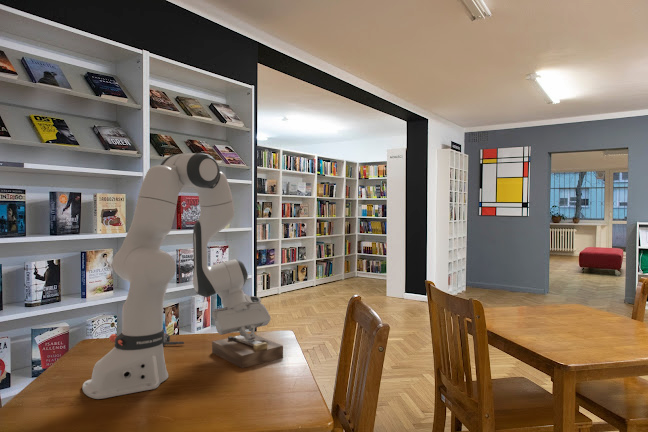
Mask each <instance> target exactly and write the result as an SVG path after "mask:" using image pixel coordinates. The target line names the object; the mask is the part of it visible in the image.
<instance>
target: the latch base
mask: <svg viewBox="0 0 648 432" xmlns="http://www.w3.org/2000/svg"><path fill="white" fill-rule="evenodd" d="M239 334H240V333H239ZM249 334H251V332H250V333H249ZM240 335H241V334H240ZM255 335H256V334H255ZM241 336H242V335H241ZM233 337H234V336H232V335H231V336H228V337H227V338H221V339H217V340H212V342H211V347H212V348H211V353H212V354H214V355H216V356H218V357H219V358H222V359H224V360H225V361H227V362H228V363H229V362H230V363H231V364H233V365H235V366H237V367H238V368H241V369H245V368H248V367H252V366H257V365H259V364H263V363H267V362H271V361H274V360H279V359H282V358H284V345H282V344H280V343H276V342H275V341H272V340H269V339H267V338H265V337H261V336H260V335H256V338H255V339H254V340H257V341H260V342H262V343H258V344H254V346H251V345H248V344H245V343H242V342H239V341H236V340H233Z"/></svg>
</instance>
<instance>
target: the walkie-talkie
mask: <svg viewBox="0 0 648 432" xmlns="http://www.w3.org/2000/svg"><path fill="white" fill-rule="evenodd" d="M164 335H165V342H164V346H168V345H173V346H174V345H184V344H185V342H184V341H171V336H170V335H169V333H166V332H164Z"/></svg>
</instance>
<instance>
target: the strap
mask: <svg viewBox="0 0 648 432" xmlns="http://www.w3.org/2000/svg"><path fill="white" fill-rule="evenodd" d="M232 337H233V340H236V341H239V342H242V343H245V344H248V345H251V346H254V344H258V343H262V342H260V341H257V340H254V339H253V340H249V341H246V339H245V337H244V336H241V335H235V336H232Z"/></svg>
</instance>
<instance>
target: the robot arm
mask: <svg viewBox="0 0 648 432" xmlns="http://www.w3.org/2000/svg"><path fill="white" fill-rule="evenodd" d="M183 188H186V189H194V190H195V191H196V193H197V195H198V202H199V208H200V213H199V217H198V220H197V221H196V222H195V223H194V225H193V231H192V232H193V233H192V234H193V237H192V242H193V243H192V245H193V256H192V257H193V275H192V286H193V289H194V291H195V293H196V294H197V295H199V296H201V297H203V298H209V297H212V296H214V295H216V294H217V296H219V297H220V299H221V301H220V302H221V305H222V307H220V308H215V309H213V311H212V312H211V316H212V319H213V320H214V325H215V329H216V332H217V333H218V334H219V335H223V336H224V335H226V334H231V333H235V332H238V333H239V334H241V335H242V336H244V337H245V339H246V341H249V340H253V339H255V338H256V333H255V331H256V328H261V327H265V326H268V325H269V324H270V321H271V319H272V318H271V315H270V313H269V311H268V309H267V307H266V306H265V305H264V303H262V298H261V297H258V296H253V295H249V294H246V293H245V292H244V290H243V287H244V286H245V284H246V282H247V280H248V278H249V276H248V271H247V269H246V267H245V264H244V263H243V262H242V261H240V260H239V259H237V258H235V259H230V260H226V261H222V262H220V263H217V264H213V265H210V266H209V265H208V244H209V241H210V240H211V239H212V238H213V237H214V236H215V235H216V234H217V233H219V232H221V231H222V230H224V229H225V228H226V227H228V225H229V224H231V222H232V220H233V219H234V217H235V205H234V199H233V195H232V191H231V187H230V185H229V181H228V179H227V176H226V174H225V173H224V172H222V171H221V168H220V166H219V164H218V161H217V160H216V159H215V157H213V155H210V154H208V153H203V152H197V153H196V152H195V153H193V152H192V153H191V152H185V153H178V154H172V155H170V156H167V157H166V158H165V159H164V160H163V161H162V162H161V163H160V164H157V165H153V166H151V167H150V168H148V170H147V172H146V173H145V175H144V179H143V180H142V183H141V186H140V190H139V193H138V196H137V200H136V205H135V210H134V213H133V217H132V221H131V224H130V226H129V229H128V231H127V234H126V236H125V238H124V239H123V242H122V245H121V246H120V248H119V249H118V251H117V252H116V253H115V254H114V256H113V258H112V265H111V266H112V269H113V271H114V272H115V274H116V275H117V276H118V277H120V279H122V280H123V281H126V282H129V288H128V293H127V297H126V300H125V302H124V303H123V304H122V310H121V311H122V312H121V332H120V333H119V334H118V335H117V334H116V333H112V334H110V336H109V340H110V341H111V342H112V343H114V347H113V348H112V349H111V350H110V351H108V352H107V353H106V354H105V355H104V356H103V357H101V359H99V360H98V361H96V363H95V364H94V366H93V369H92V372H91V373H92V374H91V379H88V380H85V381H84V382H83V384H82V392H83V393H84V394H85V395H86V397H89V398H92V399H96V400H100V399H101V400H102V399H107V398H112V397H116V396H117V397H118V396H123V395H128V394H133V393H138V392H143V391H149V390H155V389H157V388H159V386H160V385H161V383H164V381H166V380H167V379H168V378H169V372H168V371H167V366H166V361H165V354H164V353H165V352H164V348H165V345H164V342H165V335H164V333H165V329H164V326H163V325H164V302H165V298H166V294H167V289H168V286H169V283H170V282H171V281H172V280H173V279H174V276H175V275H176V273H177V272H176V271H177V265H176V261H175V259H174V258H173V256H171V254H169V253H167V252H166V251H164V250H163V249H160V248H161V246H162V244H163V242H164V240H165V238H166V237H167V235H169V233H170V232H171V231H172V227H173V224H174V218H175V214H176V208H177V204H178V199H179V194H180V193H181V190H182V189H183ZM247 331H249V332H250V333H251V334H250V333H248V332H247Z"/></svg>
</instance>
